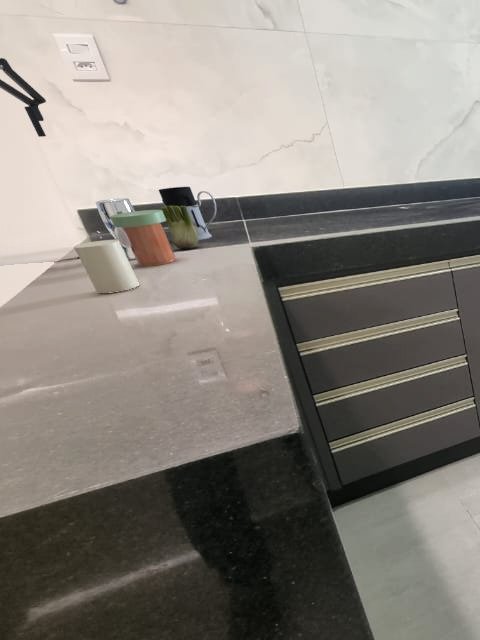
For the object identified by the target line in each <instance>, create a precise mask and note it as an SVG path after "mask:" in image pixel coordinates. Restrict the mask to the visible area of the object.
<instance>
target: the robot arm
mask: <svg viewBox="0 0 480 640" xmlns="http://www.w3.org/2000/svg"><path fill="white" fill-rule="evenodd" d="M0 71H2V72H3V73H4V74H5V75H6V76H7V77H8V78H9V79H11V80H12V81H13V82H14V83H15V84H16V85H18V87H20V88H21V89H22V90H23V91H24V92H25V93H26V94H27V95H28V96H27V95H25V93H23V92H21V91H20V90H19V89H17V88H15V87H13V86H12V85H10V84H9V83H7V82H6V81H4V80H2V79H1V78H0V89H1V90H3V91H5V92H6V93H8V94H10V95H11V96H12V97H14V98H16V99H18V100H19V101H21V102H22V103H24V104H26V105H27V106H24V110H25V111H26V114H27V116H28V118H29V120H30V122H31V124H32V126H33V127H34V130H35V132H36V134H37V136H38V138H39V137H41V138H42V137H47V135H46V133H45V130H44V128H43V127H42V125H41V123H40V122H44V120H45V119H44V117H43V116H44V115H43V114H42V113H41V111H40V108H39V106H40V105H42V104H44V103H47V100H46V98H45V97H43V96H42V95H41V94H40V93H39V92H38V91H37V90H36V89H35V88H34V87H33V86H31V85H30V84H29V83H28V82H27V81H26V80H25V79H24V78H23V77H21V76H20V75H19V74H18V73H17V72H16V71H15V70H14V69H13V68H12V66H11V65H10V63H9V62H8V60H7V59H6V58H4V57H0ZM29 96H30V97H29Z"/></svg>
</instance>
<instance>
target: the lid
mask: <svg viewBox="0 0 480 640" xmlns="http://www.w3.org/2000/svg"><path fill="white" fill-rule="evenodd" d="M110 218H111V220H112V223H113V225H114V227H117V228H125V227H137V226H145V225H151V224H157V223H161V224H162V223H164V222H167V221H166V218H165V216H164V213H163V211H162V210H161V209H146V210H145V209H144V210H135V212H127V213H121V214H116V215H112V216H110Z"/></svg>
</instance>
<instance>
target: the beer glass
mask: <svg viewBox="0 0 480 640" xmlns="http://www.w3.org/2000/svg"><path fill="white" fill-rule="evenodd" d="M94 202H95V205H96V208H97V210H98V213H99V216H100V218H101V220H102V222H103V224H104V226H105V227H106V229H107V230H108V232H109V233H110V234H111V236H112V237H113V238H114V240H119V242H120V244H121V246H122V248H123V250H124V253H125V255H126V257H127V259H128V261H131V260H136V258H135V255H134V253H133V251H132V249H131V247H130V245H129V243H128V240H127V238H126V236H125V234H124V232H123V230H122V228H117V227H114V225H113V223H112V220H111V218H110V216H112V215H116V214H121V213H127V212H135V211H136V210H135V208H134V206H133V205H132V202H131V200H130V199H129V198H126V197H125V198H110V199H109V198H108V199H103V200H97V201H94Z"/></svg>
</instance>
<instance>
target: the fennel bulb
mask: <svg viewBox="0 0 480 640" xmlns="http://www.w3.org/2000/svg"><path fill="white" fill-rule="evenodd" d="M172 207H173V210H174V212H175V214H176V216H175V214H174V212H173V210H172V208H171V206H166V207H165V206H163V207H160V209H159V210H162V211H163V213H164V216H165V218H166V221H165V222H166V224H167V227H168V233H169V236H170V239H171V241H172V244H173V245H174V246H175V247H176V248H177V249H181V250H189V249H193V248H197V247H198V246H199V240H198V236H197V232H196V230H195V227H194V225H193V223H192V221H191V219H190V217H189V214H188V211H187V208H186V206H180V208H181V211H180V209H179V207H178V206H172ZM181 212H182V214H181ZM182 215H183V216H182ZM176 217H177V218H176ZM177 219H178V220H177Z"/></svg>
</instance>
